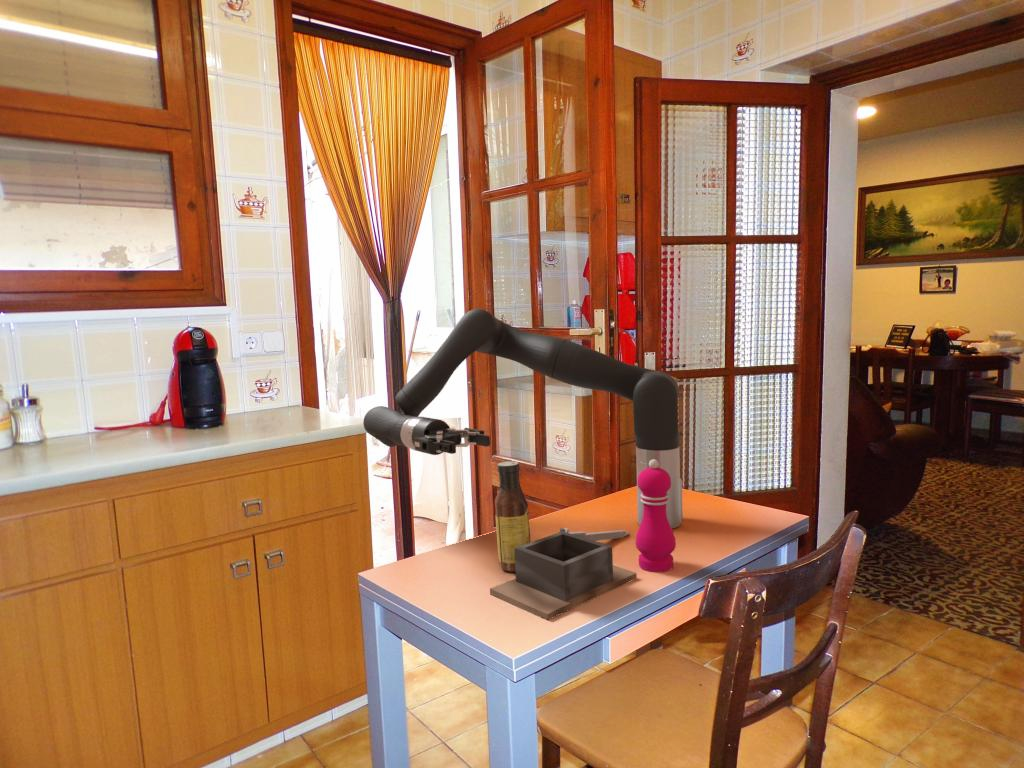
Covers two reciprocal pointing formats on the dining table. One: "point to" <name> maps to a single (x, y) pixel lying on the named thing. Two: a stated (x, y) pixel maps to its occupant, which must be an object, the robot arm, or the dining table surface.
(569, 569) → the bottle caddy
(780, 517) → the dining table surface
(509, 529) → the sauce bottle
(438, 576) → the dining table surface
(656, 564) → the pepper mill
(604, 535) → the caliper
